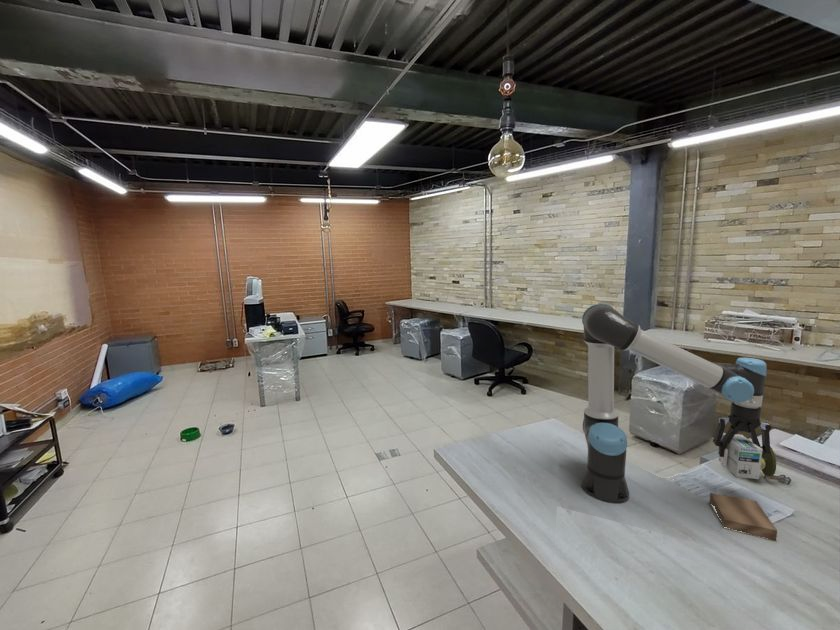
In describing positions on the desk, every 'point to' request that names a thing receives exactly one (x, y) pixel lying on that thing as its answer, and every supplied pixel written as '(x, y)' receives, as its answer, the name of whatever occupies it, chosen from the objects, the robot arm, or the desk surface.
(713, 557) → the desk surface
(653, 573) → the desk surface
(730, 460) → the light bulb box
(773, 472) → the cannon
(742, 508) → the walnut block
